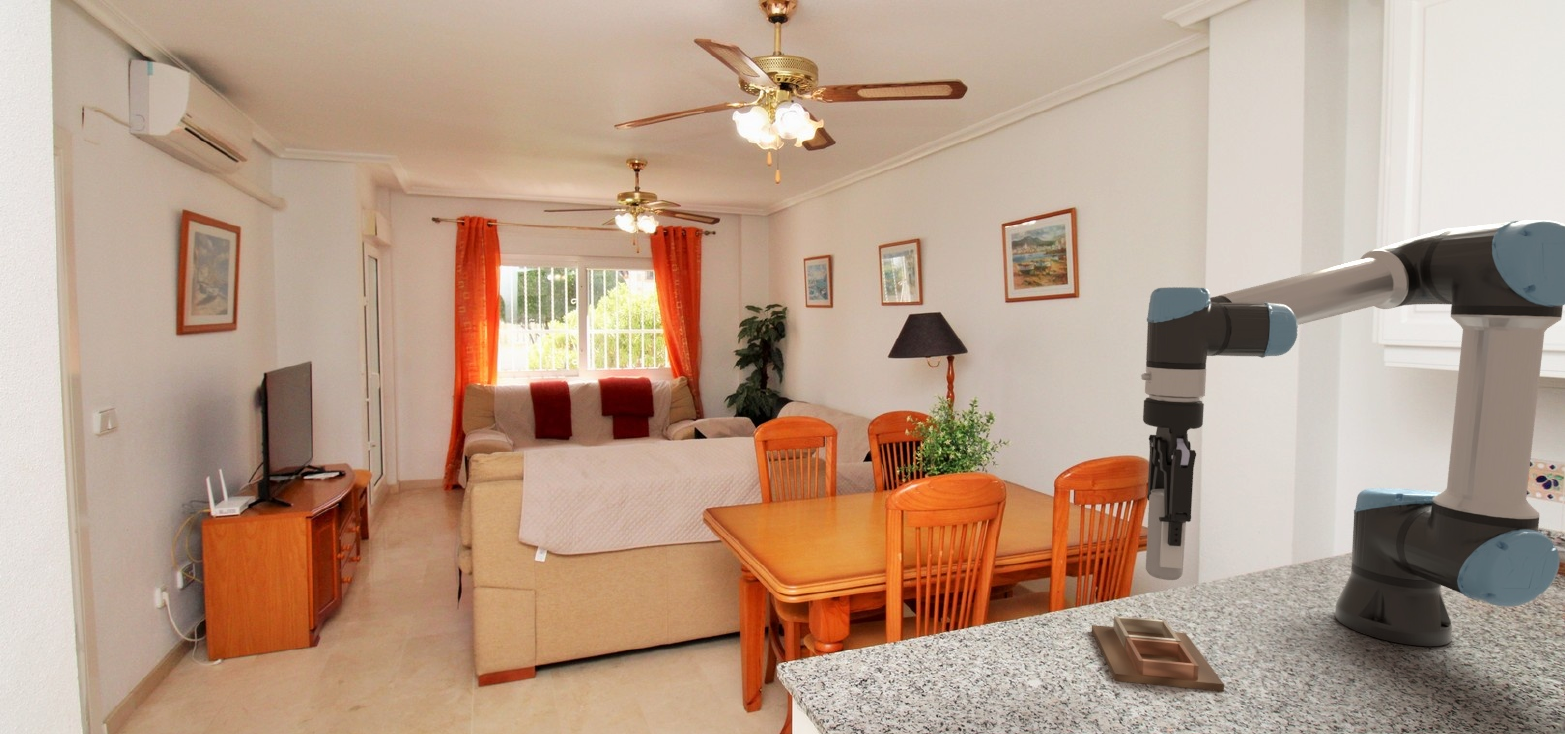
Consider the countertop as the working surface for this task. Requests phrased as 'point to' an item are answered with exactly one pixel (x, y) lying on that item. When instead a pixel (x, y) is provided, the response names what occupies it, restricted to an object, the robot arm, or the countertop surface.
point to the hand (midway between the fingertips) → (1165, 560)
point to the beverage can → (1158, 539)
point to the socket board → (1154, 655)
